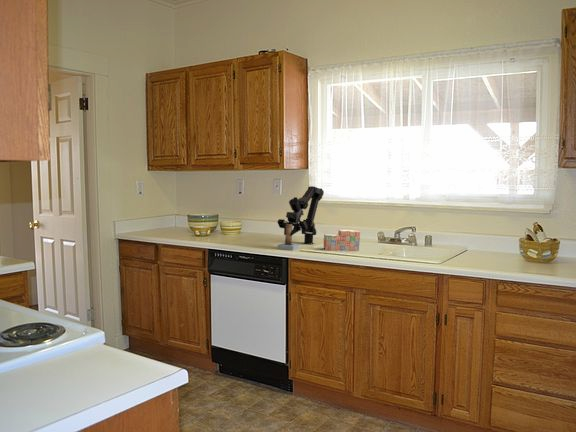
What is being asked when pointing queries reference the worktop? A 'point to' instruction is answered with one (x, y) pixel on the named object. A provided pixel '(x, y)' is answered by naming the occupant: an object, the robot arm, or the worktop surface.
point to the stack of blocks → (342, 240)
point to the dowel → (288, 234)
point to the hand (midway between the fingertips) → (287, 235)
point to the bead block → (288, 246)
